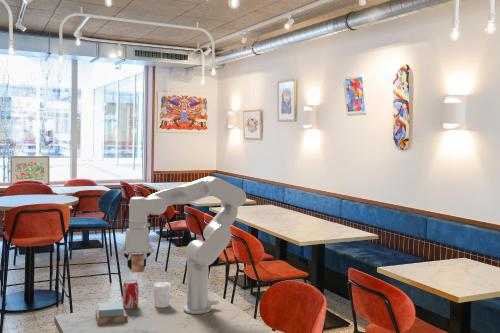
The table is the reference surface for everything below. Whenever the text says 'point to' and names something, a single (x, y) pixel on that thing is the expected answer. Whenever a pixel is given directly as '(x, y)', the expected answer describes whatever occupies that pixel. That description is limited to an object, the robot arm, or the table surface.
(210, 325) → the table surface
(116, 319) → the base block
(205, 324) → the table surface
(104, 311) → the top block
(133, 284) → the soda can
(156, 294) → the white cup
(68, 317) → the table surface
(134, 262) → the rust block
